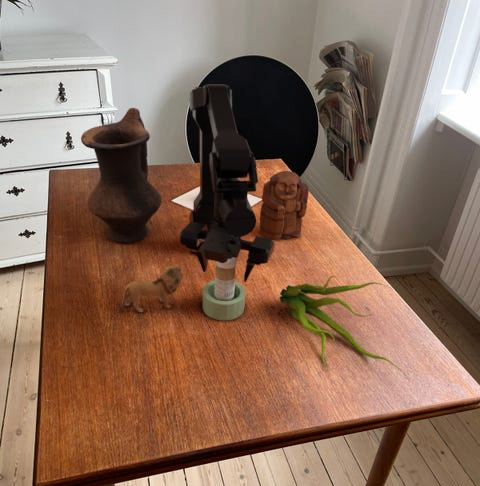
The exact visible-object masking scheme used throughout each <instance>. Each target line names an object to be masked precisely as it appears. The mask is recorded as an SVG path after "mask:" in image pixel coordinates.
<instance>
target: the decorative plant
mask: <svg viewBox="0 0 480 486" xmlns="http://www.w3.org/2000/svg"><path fill="white" fill-rule="evenodd" d="M337 277H339V278H340V276H337ZM332 278H335V275H331V276H329V277H328V279H327V281H326V282H325V284H324V286H322V285H314V284H311V283H303V284H297V285H290V284H288V285H287V286H286V287H285V288H282V289H281V291H280V294H279V295H280V296H279V300H280V301H279V302H280V303H282V304H284V305H285V304H286V305H287V306H288V307H289V308H290V313H291V316H292V317H293V318H294V319H296V321H299V322H300V324H301V325H302V327H303V328H304V330H305V331H308V332H312V333H315V334H316V336H318V337H319V338H320V340H321V360H322V362H323V364H324V365H325V367H326V368H328V365H327V364H326V362H325V357H324V356H325V349H326V338H327V337H326V334H327V335H329V336H330V337H331V338H332V339H333V341H335V339H336V338H335V337H334V335H333V334H332V332H330V331H328V330H323V329H321V327H320V326H319V325H318V324H317V323H316V322H315V321H313V320H312V319H310V318H309V317H308V316H309V315H310V316H312V317H314V318H316V319H318V320H319V321H321V322H322V323H324V324H325V325H327V326H328V327H329V328H330V329H332V330H333V331H334V332H335V333H337V334H338V335H339V336H340V337H341V338H342V339H343V340H345V341H346V342H347V343H348V344H350V345H351V346H352V347H353V348H354V349H355V350H356V351H357V352H359V353H360V354H361V355H364V356H367V357H369V358H372V359H376V360H383V361H386V362H387V363H390V364H391V365H393V366H394V367H395V368H396V369H398V370H399V371H401V373H402V374H403V375H404V376H405V377H406V378H407V379H408V380H410V378H409V377H408V376H407V374H405V372H404V371H403V370H402V369H401V368H400V367H398V366H397V365H396V364H395V363H393V362H392V361H391V360H389V359H388V358H386V357H384V356H380V355H378V354H374V353H372V352H370V351H367V350H366V349H363V348H362V347H361V346H360V344H359V343H358V342H357V341H356V339H354V336H352V335H351V333H350V332H349V331H348V330H347V329H345V328H344V327H342V326H341V325H340V324H339V323H337V322H336V321H335V320H334V319H332V317H330V316H329V315H328V314H326V313H325V312H324V311H323V310H322V309H320V308H323V307H325V306H329V305H330V306H333V307H335V305H334V304H337V303H338V304H340V305H342V306H343V307H345V308H346V309H347V310H348V311H349V312H350V313H351V314H353V315H354V316H357V317H364V318H365V317H369V316H372V315H373V313H370V314H368V315H362V314H358V313H357V312H355V311H354V309H352V308H351V306H350V305H349V304H348V303H347V302H346V301H344V300H342V299H341V298H336V297H328V296H329V295H335V294H340V293H344V292H345V293H346V292H349V291H355V290H360V289H363V288H366V287H367V286H370V285H381V286H385V287H387V288H389V289H391V286H388V285H386V284H384V283H380V282H375V281H373V282H372V281H371V282H367V283H363V284H353V285H352V284H351V285H350V284H349V285H338V286H331V287H328V285H329V283H330V280H331V279H332ZM308 295H321V296H326V297H321V298H313V297H310V296H308ZM307 315H308V316H307Z"/></svg>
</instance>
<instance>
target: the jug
mask: <svg viewBox="0 0 480 486" xmlns="http://www.w3.org/2000/svg"><path fill="white" fill-rule="evenodd" d="M150 138H151V135H150V133H149V131H148V130H147V129H146V127H145V125H144V122H143V119H142V117H141V112H140V110H139V108H136V107H129V108H128V110H127V111H126V113H125V115H124V116H123V117H122V118H121V119H120V120H119V121H117V122H112V123H107V124H103V125H97V126H93V127H91V128H89V129H87V130H85V131H84V132H83V133H82V135H81V137H80V141H81V144H83V146H84V147H85V148H88V149H93V150H94V154H95V157H96V160H97V164H98V170H99V173H100V177H99V181H98V182H97V184H96V185H95V187H94V188H93V190H92V191H91V193H90V195H89V197H88V199H87V207H88V209H89V212H90V213H91V214H93V215H94V216H95V217H97V218H99V219H100V220H101V221H102V222H104V224H105V225H106V226H107V227H106V230H105V235H106V237H107V239H109V240H110V241H113V242H115V243H121V244H132V243H135V242H138V241H142V240H144V239H145V238H146V237H148V234H149V229H148V226H147V223H148V222H149V221H150V220H151V219H152V217H153V216H154V215H155V214H156V213H157V212H158V210H159V209H160V208H161V205H162V200H163V199H162V195H161V193H160V192H159V191H158V189H156V188H155V186H153V185H152V184H151V183H150V182H149V180H148V177H149V164H148V141H149V140H150Z"/></svg>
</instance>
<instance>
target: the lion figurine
mask: <svg viewBox="0 0 480 486" xmlns="http://www.w3.org/2000/svg"><path fill="white" fill-rule="evenodd" d="M164 270H165V271H164V272H163V273H161V274H160V275H159V277H158V278H157V279H156V280H150V281H143V280H142V281H141V280H133V281H131V282H129V283H128V284H127V285H126V286H125V287H124V291H123V295H122V302H121V305H120V306H119V308H117V311H118V312H119V311H122V310H123V308H124V306H126V307H127V306H130V305H131V302H130V301H128V300H129V299H130V298H132V300H133V307H134V309H136V311H137V312H138V313H144V308H143V307H139V303H140V301H141V298H142V297H141V296H144V297H147V298H157V297H159V298H158V299H159V301H160V302H161V303H163V305H164V307H165V308H166V309H170V308H171V307H172V305H171V303H169V300H170V295H172V294H174V293H176V292H177V290H178V288H179V286H180V285H181V282H182V280H183V279H182V278H183V274H182V268H181V267H179V266H177V265H174V264H172V265H170V266H167V267H165V269H164Z"/></svg>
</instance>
